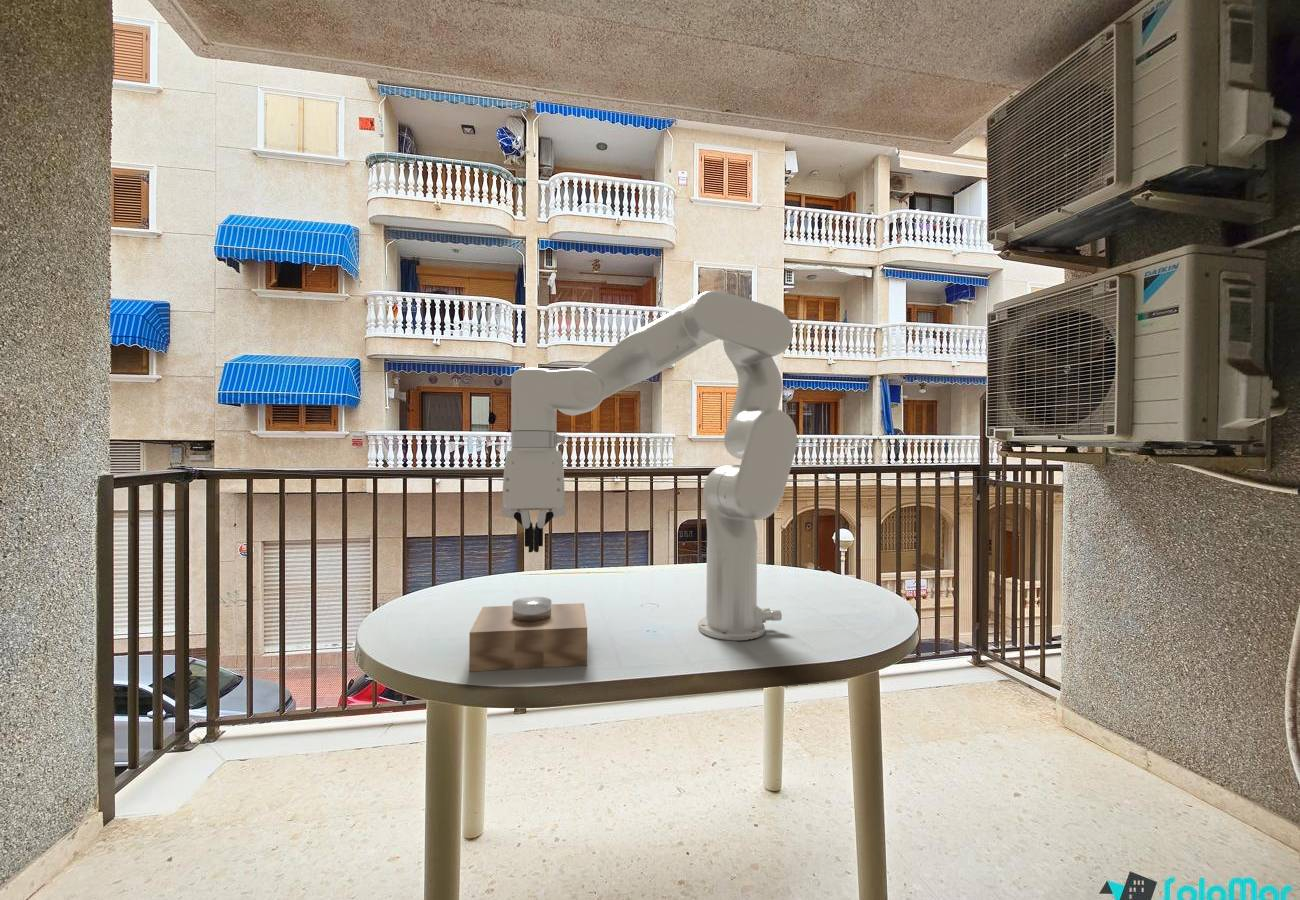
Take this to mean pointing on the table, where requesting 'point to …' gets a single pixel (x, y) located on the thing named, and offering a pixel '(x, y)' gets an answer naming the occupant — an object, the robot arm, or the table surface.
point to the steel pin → (531, 609)
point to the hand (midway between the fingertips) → (533, 550)
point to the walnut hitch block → (528, 639)
